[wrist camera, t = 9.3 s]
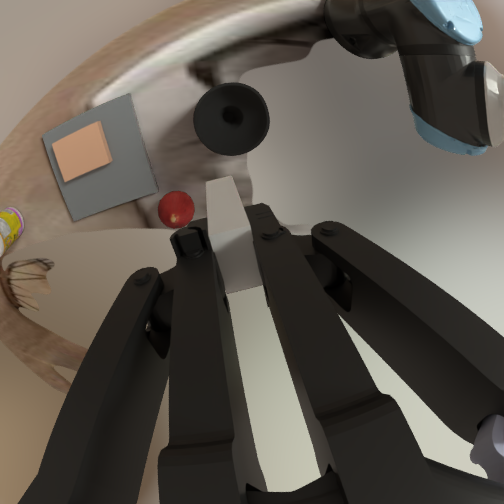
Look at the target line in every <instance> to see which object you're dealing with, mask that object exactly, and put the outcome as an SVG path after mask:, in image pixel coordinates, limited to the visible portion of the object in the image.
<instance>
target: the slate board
mask: <svg viewBox="0 0 504 504" xmlns="http://www.w3.org/2000/svg"><path fill="white" fill-rule="evenodd" d="M97 121H101V124H102V128H103V131H104V134H105V138H106V141H107V144H108V148H109V151H110V154H111V157H112V160H113V161H111V162H110V163H108V164H105V165H103V166H101V167H98V168H96V169H93V170H91V171H89V172H86V173H84V174H82V175H80V176H77V177H75V178H73V179H71V180H69V181H66V182H65V181H64V179H63V176H62V173H61V170H60V168H59V165H58V162H57V159H56V156H55V153H54V150H53V146H52V144H53V143H55V142H56V141H58V140H60V139H62V138H64V137H66V136H68V135H70V134H72V133H74V132H76V131H78V130H80V129H82V128H84V127H86V126H88V125H90V124H93V123H95V122H97ZM42 137H43V140H44V144H45V147H46V150H47V153H48V156H49V159H50V162H51V165H52V168H53V171H54V174H55V176H56V179H57V182H58V185H59V187H60V190H61V192H62V195H63V197H64V200H65V202H66V204H67V207H68V209H69V212H70V214H71V216H72V218H73V221H77V220H79V219H82V218H84V217H87V216H89V215H92V214H95V213H97V212H100V211H103V210H106V209H108V208H111V207H114V206H117V205H120V204H122V203H125V202H128V201H131V200H134V199H137V198H140V197H143V196H146V195H150V194H153V193H156V192H158V190H159V189H158V186H157V183H156V180H155V177H154V174H153V171H152V168H151V164H150V161H149V158H148V155H147V151H146V148H145V145H144V141H143V138H142V135H141V131H140V128H139V124H138V120H137V117H136V113H135V109H134V105H133V102H132V98H131V94H130V93H128V94H126V95H123V96H121V97H118V98H116V99H113V100H111V101H108V102H106V103H104V104H101V105H99V106H97V107H95V108H93V109H90V110H88V111H86V112H84V113H82V114H80V115H78V116H76V117H74V118H72V119H70V120H68V121H66V122H64V123H63V124H61V125H59V126H57V127H55V128H54V129H52V130H50V131H48V132H47V133H45V134H43V135H42Z"/></svg>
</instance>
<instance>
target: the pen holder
mask: <svg viewBox="0 0 504 504" xmlns="http://www.w3.org/2000/svg"><path fill="white" fill-rule="evenodd" d="M269 124H270V118H269V112H268V109H267V105H266V103H265V101H264V99H263V97H262V96H261V95H260V94H259V92H258V91H256V90H255V89H254V88H252V87H250V86H248V85H245V84H241V83H224V84H220V85H218V86H215V87H214V88H212V89H210V90H209V91H207V92H206V93H205V94H204V95H203V96H202V97H201V99H200V100H199V102H198V104H197V106H196V108H195V112H194V128H195V131H196V133H197V135H198V137H199V139H200V140H201V142H202V143H203V144H204V145H205V146H206V147H207V148H208V149H210V150H211V151H213V152H215V153H218V154H221V155H227V156H236V155H241V154H245V153H247V152H249V151H251V150H253V149H254V148H256V147H257V146H258V145H259V144H260V143H261V142H262V141H263V140H264V138H265V136H266V135H267V132H268V129H269Z"/></svg>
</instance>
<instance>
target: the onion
mask: <svg viewBox="0 0 504 504" xmlns="http://www.w3.org/2000/svg"><path fill="white" fill-rule="evenodd" d="M194 211H195V210H194V203H193V201H192V199H191V197H190V196H189V195H187V194H186V193H184V192H181V191H172V192H170V193H168V194H166V195H165V196H164V197H163V198H162V199H161V200H160V202H159V206H158V215H159V218H160V220H161V222H162V223H163V224H165V225H166V226H167V227H170V228H173V229H176V228H182V227H184V226H186V225H187V224H188V223H189V222H190V221H191V220H192V218H193V215H194Z"/></svg>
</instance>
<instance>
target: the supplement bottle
mask: <svg viewBox="0 0 504 504" xmlns="http://www.w3.org/2000/svg"><path fill="white" fill-rule="evenodd" d="M23 229H24V221H23V217H22V215H21V214H20V212H19V211H18V210H17V209H15V208H13V207H7V208H6V209H4V210H3V211H2V212H1V213H0V257H1V256H2V255H3V254H4V252H5V251H6V250H7V249H8V248H9V247H10V246H11V245H12V244H13V243H14V241H15V240H16V239H17V238H18V237H19V236H20V235H21V234H22V232H23Z"/></svg>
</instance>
